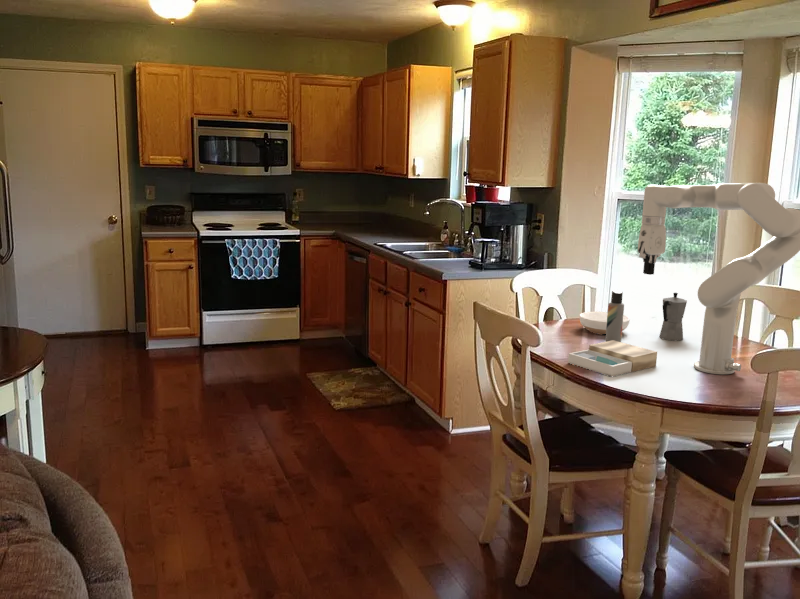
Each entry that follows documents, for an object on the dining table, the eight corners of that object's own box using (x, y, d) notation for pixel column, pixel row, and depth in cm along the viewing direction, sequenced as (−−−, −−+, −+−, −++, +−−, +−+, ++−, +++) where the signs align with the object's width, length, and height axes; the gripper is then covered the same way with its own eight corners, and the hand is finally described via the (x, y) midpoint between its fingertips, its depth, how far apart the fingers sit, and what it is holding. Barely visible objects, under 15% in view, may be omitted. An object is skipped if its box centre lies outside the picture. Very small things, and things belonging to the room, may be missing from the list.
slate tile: (585, 358, 243) (585, 365, 243) (595, 356, 246) (594, 363, 246) (573, 355, 247) (573, 362, 247) (583, 352, 250) (582, 360, 250)
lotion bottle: (619, 341, 280) (623, 289, 276) (622, 345, 274) (626, 292, 270) (604, 340, 280) (608, 289, 276) (606, 344, 275) (611, 291, 271)
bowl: (600, 339, 283) (601, 323, 281) (568, 328, 300) (569, 313, 299) (639, 335, 291) (640, 320, 290) (605, 324, 308) (607, 310, 307)
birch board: (655, 366, 247) (657, 351, 246) (632, 371, 240) (633, 357, 239) (612, 353, 261) (613, 340, 260) (588, 359, 254) (589, 345, 253)
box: (631, 372, 239) (632, 361, 239) (611, 377, 234) (612, 366, 233) (587, 359, 254) (588, 349, 253) (567, 363, 248) (568, 353, 247)
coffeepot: (667, 333, 296) (672, 289, 292) (690, 337, 289) (695, 292, 285) (648, 338, 285) (653, 293, 282) (672, 343, 278) (676, 297, 275)
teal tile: (609, 359, 236) (607, 366, 236) (618, 363, 239) (615, 370, 239) (597, 355, 240) (594, 363, 239) (605, 359, 243) (603, 366, 243)
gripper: (649, 223, 245) (644, 277, 249) (675, 221, 254) (670, 273, 258) (630, 221, 251) (626, 274, 255) (656, 219, 260) (652, 270, 263)
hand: (648, 273), depth 256 cm, fingers closed
